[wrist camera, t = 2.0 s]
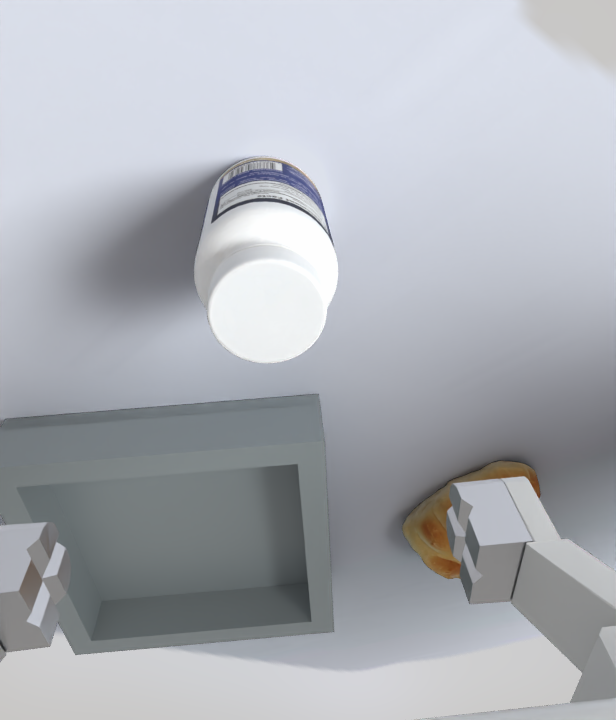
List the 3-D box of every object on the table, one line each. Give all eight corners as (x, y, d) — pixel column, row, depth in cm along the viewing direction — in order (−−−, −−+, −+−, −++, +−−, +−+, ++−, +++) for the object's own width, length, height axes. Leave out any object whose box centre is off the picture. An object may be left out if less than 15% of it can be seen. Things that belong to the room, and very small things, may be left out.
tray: (318, 393, 33) (324, 440, 30) (328, 581, 43) (334, 631, 40) (5, 419, 33) (-24, 469, 30) (90, 602, 43) (75, 654, 40)
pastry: (486, 435, 36) (507, 480, 33) (556, 474, 39) (582, 519, 36) (391, 521, 40) (402, 568, 37) (460, 551, 43) (476, 597, 40)
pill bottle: (285, 283, 29) (293, 403, 21) (188, 231, 27) (156, 342, 19) (345, 192, 27) (380, 289, 19) (243, 129, 25) (232, 206, 17)
